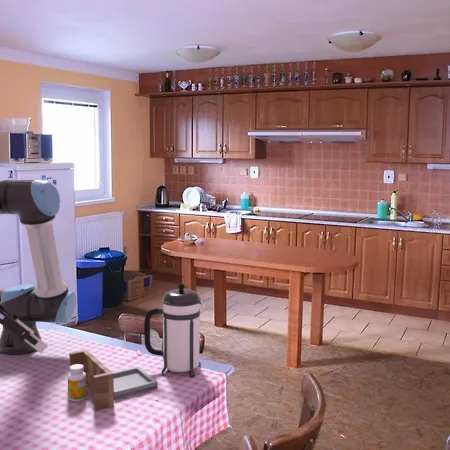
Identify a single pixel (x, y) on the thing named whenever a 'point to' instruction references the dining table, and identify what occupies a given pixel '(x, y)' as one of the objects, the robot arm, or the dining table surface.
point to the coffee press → (178, 330)
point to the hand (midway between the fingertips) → (37, 342)
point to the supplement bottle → (77, 383)
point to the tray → (132, 382)
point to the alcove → (96, 378)
